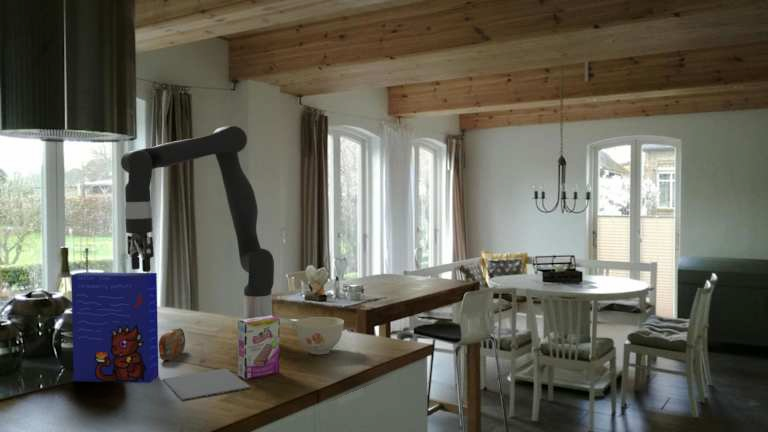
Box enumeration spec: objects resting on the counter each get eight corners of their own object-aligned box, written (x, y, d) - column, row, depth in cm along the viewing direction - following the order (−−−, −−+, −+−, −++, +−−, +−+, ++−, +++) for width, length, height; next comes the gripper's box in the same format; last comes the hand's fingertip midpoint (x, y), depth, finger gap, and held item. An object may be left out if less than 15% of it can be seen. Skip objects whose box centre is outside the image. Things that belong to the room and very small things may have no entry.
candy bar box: (245, 381, 172) (244, 322, 171) (237, 376, 176) (236, 319, 175) (280, 373, 179) (280, 317, 178) (272, 369, 183) (271, 314, 182)
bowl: (285, 354, 199) (285, 324, 199) (313, 343, 213) (313, 315, 213) (327, 361, 192) (326, 329, 191) (353, 349, 206) (353, 319, 205)
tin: (167, 363, 190) (166, 336, 189) (157, 363, 190) (156, 336, 190) (186, 351, 205) (185, 325, 204) (177, 350, 205) (176, 325, 205)
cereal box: (158, 376, 176) (156, 272, 175) (148, 383, 170) (146, 275, 169) (86, 374, 179) (83, 271, 177) (73, 381, 173) (71, 274, 171)
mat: (225, 370, 182) (225, 368, 182) (250, 388, 166) (250, 386, 166) (162, 380, 173) (162, 378, 173) (181, 400, 156) (181, 398, 156)
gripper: (160, 216, 183) (162, 271, 184) (142, 215, 194) (144, 267, 195) (135, 218, 178) (137, 274, 179) (117, 216, 189) (119, 269, 189)
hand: (141, 270), depth 187 cm, fingers open, 8 cm apart
